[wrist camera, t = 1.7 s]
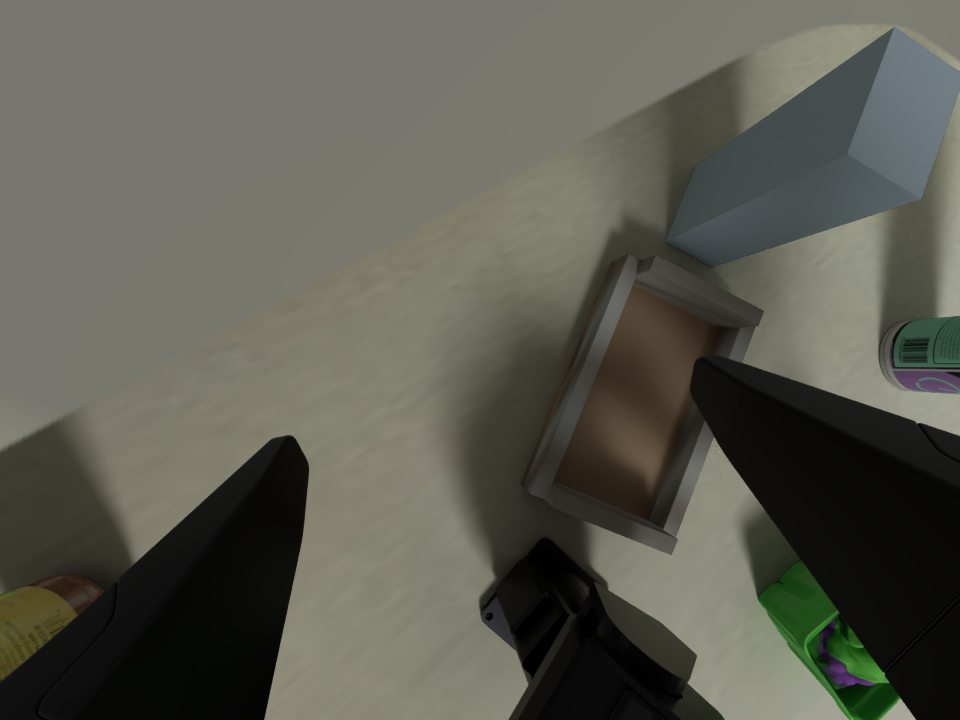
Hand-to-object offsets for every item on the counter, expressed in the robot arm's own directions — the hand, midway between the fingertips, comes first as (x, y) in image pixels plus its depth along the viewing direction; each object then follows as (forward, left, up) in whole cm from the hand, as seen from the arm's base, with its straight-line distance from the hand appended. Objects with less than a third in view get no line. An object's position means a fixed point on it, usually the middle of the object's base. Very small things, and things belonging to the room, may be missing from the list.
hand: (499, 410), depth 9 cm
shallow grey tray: (-10, -8, -17) cm, 21 cm away
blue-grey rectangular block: (-5, -21, -17) cm, 27 cm away
